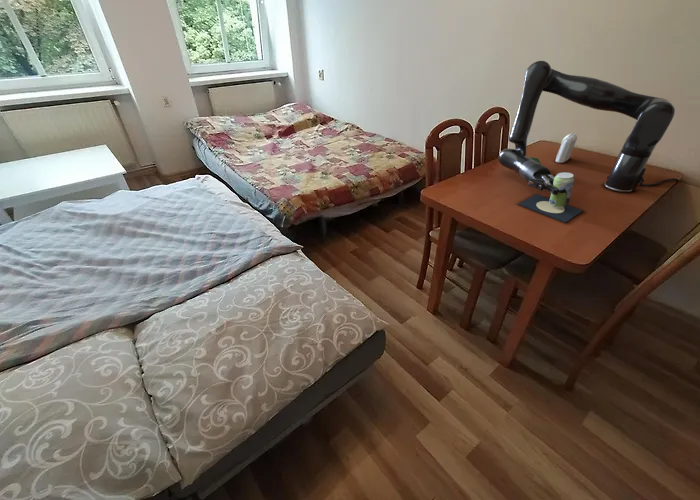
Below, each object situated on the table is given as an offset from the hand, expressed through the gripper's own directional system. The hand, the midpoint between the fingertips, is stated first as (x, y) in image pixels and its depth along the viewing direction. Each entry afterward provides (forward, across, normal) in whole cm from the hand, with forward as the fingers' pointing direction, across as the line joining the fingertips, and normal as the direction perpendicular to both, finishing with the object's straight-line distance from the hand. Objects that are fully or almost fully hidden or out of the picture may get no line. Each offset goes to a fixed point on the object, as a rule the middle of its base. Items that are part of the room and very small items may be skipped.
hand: (562, 192), depth 113 cm
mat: (-3, 0, +8) cm, 8 cm away
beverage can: (-3, +2, +7) cm, 8 cm away
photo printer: (-47, +36, +8) cm, 60 cm away
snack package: (-36, +12, +8) cm, 39 cm away
